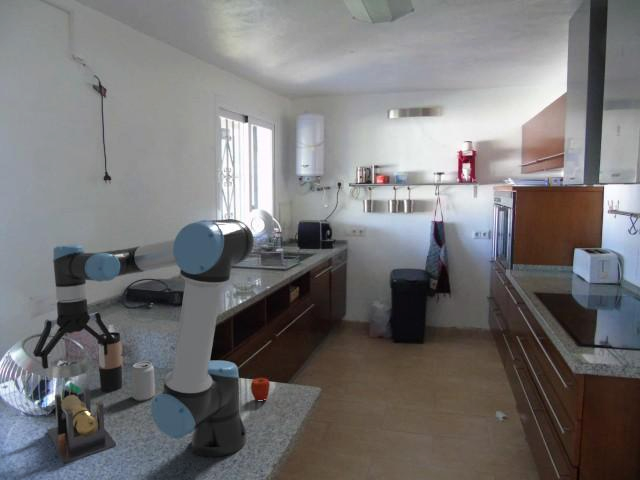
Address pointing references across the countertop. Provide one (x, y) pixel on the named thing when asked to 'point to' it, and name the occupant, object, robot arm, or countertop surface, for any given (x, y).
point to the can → (142, 381)
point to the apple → (260, 388)
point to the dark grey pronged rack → (69, 438)
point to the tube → (80, 416)
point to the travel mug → (111, 365)
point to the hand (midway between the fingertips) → (77, 372)
